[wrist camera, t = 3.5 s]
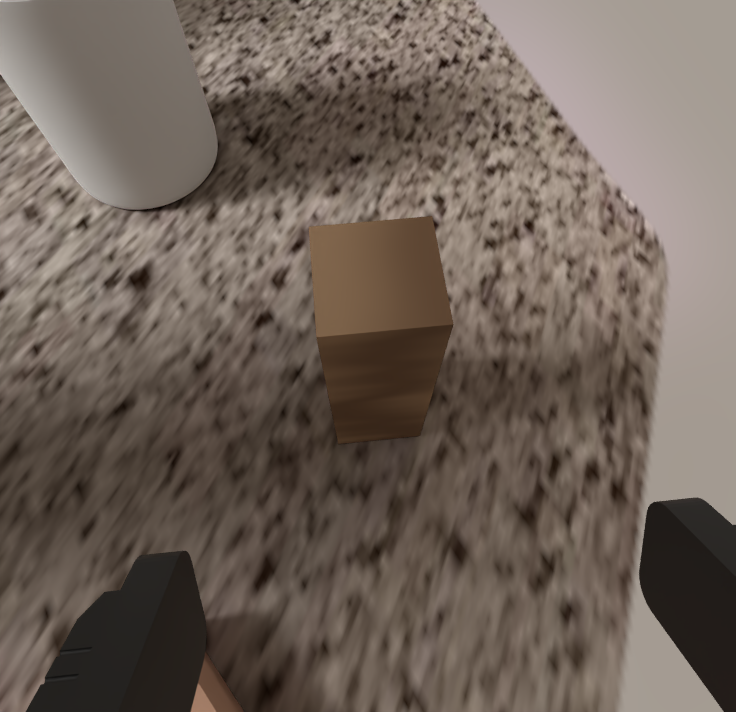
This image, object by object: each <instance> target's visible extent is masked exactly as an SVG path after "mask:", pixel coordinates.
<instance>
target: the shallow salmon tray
mask: <svg viewBox="0 0 736 712" xmlns="http://www.w3.org/2000/svg"><path fill="white" fill-rule="evenodd" d="M191 712H244V711H243V709H242V708H241V706H240V705H239V703H238V702H237V700H236V698H235V697H234V695H233V694H232V692H231V691H230V689H229V688H228V686H227V684H226V683H225V681H224V680H223V678H222V677H221V675H220V674H219V672H218V670H217V669H216V667H215V666H214V664H213V663H212V661H211V660H210V658H209V656H208V655H207V653H206V652H205V657H204V662H203V666H202V670H201V674H200V677H199V681H198V685H197V689H196V693H195V697H194V701H193V705H192V709H191Z"/></svg>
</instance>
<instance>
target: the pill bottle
mask: <svg viewBox="0 0 736 712" xmlns="http://www.w3.org/2000/svg"><path fill="white" fill-rule="evenodd" d="M0 74H1V76H2V77H3V79H4V80H5V81H6V83H7V84H8V86H9V87H10V88H11V90H12V91H13V93H14V94H15V96H16V97H17V98H18V100H19V101H20V103H21V104H22V105H23V107H24V108H25V110H26V111H27V112H28V114H29V115H30V117H31V118H32V119H33V121H34V122H35V124H36V125H37V126H38V128H39V129H40V131H41V132H42V133H43V135H44V136H45V138H46V139H47V140H48V142H49V143H50V145H51V146H52V148H53V149H54V150H55V152H56V153H57V155H58V156H59V157H60V159H61V160H62V162H63V163H64V164H65V166H66V167H67V169H68V170H69V171H70V173H71V174H72V176H73V177H74V178H75V180H76V181H77V182H78V183H79V184H80V185H81V186H82V187H83V189H84V190H85V191H86V192H88V193H89V194H90V195H91V196H93V197H94V198H96V199H97V200H99V201H101V202H103V203H105V204H108V205H110V206H113V207H117V208H122V209H131V210H142V209H151V208H156V207H160V206H164V205H167V204H170V203H172V202H175V201H177V200H179V199H181V198H183V197H185V196H186V195H188V194H189V193H191V192H192V191H194V190H195V189H196V188H197V187H198V186H199V185H200V184H201V183H202V182H203V181H204V180H205V179H206V178H207V176H208V175H209V173H210V172H211V170H212V168H213V166H214V163H215V161H216V157H217V151H218V141H217V135H216V130H215V125H214V122H213V119H212V116H211V113H210V110H209V107H208V104H207V101H206V98H205V95H204V92H203V89H202V86H201V83H200V80H199V77H198V74H197V71H196V68H195V65H194V62H193V59H192V56H191V53H190V50H189V47H188V44H187V41H186V38H185V35H184V31H183V28H182V25H181V22H180V19H179V16H178V13H177V10H176V7H175V4H174V1H173V0H0Z"/></svg>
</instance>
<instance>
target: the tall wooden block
mask: <svg viewBox="0 0 736 712" xmlns="http://www.w3.org/2000/svg"><path fill="white" fill-rule="evenodd" d="M309 237H310V252H311V266H312V280H313V294H314V309H315V323H316V337H317V342H318V347H319V352H320V357H321V362H322V367H323V371H324V376H325V381H326V386H327V391H328V396H329V401H330V406H331V411H332V416H333V420H334V425H335V430H336V435H337V440H338V444H345V443H355V442H365V441H374V440H384V439H394V438H404V437H413V436H420V434H421V430H422V427H423V424H424V420H425V417H426V414H427V410H428V407H429V404H430V400H431V397H432V394H433V390H434V387H435V384H436V380H437V377H438V374H439V370H440V367H441V364H442V360H443V357H444V354H445V350H446V347H447V344H448V340H449V337H450V334H451V330H452V327H453V320H452V315H451V310H450V305H449V300H448V295H447V290H446V284H445V279H444V274H443V269H442V264H441V259H440V254H439V249H438V244H437V239H436V234H435V228H434V223H433V218H432V216H429V217H417V218H406V219H394V220H382V221H371V222H359V223H347V224H336V225H324V226H312V227H309Z"/></svg>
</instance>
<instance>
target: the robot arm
mask: <svg viewBox="0 0 736 712" xmlns="http://www.w3.org/2000/svg"><path fill="white" fill-rule="evenodd" d="M639 579H640V585H641V589H642V592H643V595H644V598H645V600H646V603H647V605H648V606H649V608H650V610H651V611H652V613H653V614H654V615H655V617H656V618H657V620H658V621H659V622H660V624H661V625H662V627H663V628H664V629H665V631H666V632H667V634H668V635H669V636H670V638H671V639H672V641H673V642H674V643H675V644H676V646H677V647H678V649H679V650H680V652H681V653H682V654H683V656H684V657H685V659H686V660H687V661H688V663H689V664H690V665H691V667H692V668H693V670H694V671H695V672H696V673H697V675H698V676H699V678H700V679H701V681H702V682H703V683H704V685H705V686H706V688H707V689H708V690H709V692H710V693H711V694H712V696H713V697H714V698H715V700H716V701H717V703H718V704H719V706H720V707H721V708H722V710H723V711H724V712H736V525H732V524H731V523H730V522H729V521H727V520H726V519H725V518H724V517H723V516H722V515H721V514H720V513H718V512H717V511H716V510H715V509H714V508H713V507H712V506H711V505H709V504H708V503H707V502H706V501H704V500H702V499H700V498H688V499H678V500H669V501H659V502H654V503H652V504H650V506H649V507H648V510H647V515H646V523H645V530H644V538H643V546H642V554H641V562H640V569H639ZM205 651H206V621H205V616H204V611H203V607H202V603H201V599H200V595H199V590H198V586H197V582H196V578H195V574H194V569H193V565H192V561H191V558H190V555H189V554H188V552H187V551H177V552H168V553H158V554H149V555H141V556H139V557H138V558H137V559H136V560H135V562H134V564H133V566H132V568H131V570H130V572H129V574H128V576H127V578H126V580H125V582H124V584H123V586H122V588H121V590H118V591H109V592H104V593H103V594H102V595H101V596H100V597H99V598H98V599H97V600H96V601H95V602H94V603H93V604H92V605H91V606H90V607H89V608H88V609H87V610H86V611H85V612H84V613H83V614H82V615H81V616H80V617H79V618H78V619H77V621H76V623H75V625H74V626H73V628H72V630H71V632H70V634H69V635H68V637H67V639H66V641H65V643H64V644H63V646H62V648H61V650H60V656H59V657H56V659H55V660H54V662H53V664H52V666H51V668H50V669H49V671H48V673H47V675H46V677H45V683H44V684H41V685H40V687H39V689H38V691H37V693H36V694H35V696H34V698H33V700H32V702H31V703H30V705H29V707H28V709H27V710H26V712H191V709H192V705H193V701H194V697H195V693H196V689H197V685H198V681H199V677H200V674H201V670H202V666H203V662H204V657H205Z"/></svg>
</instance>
